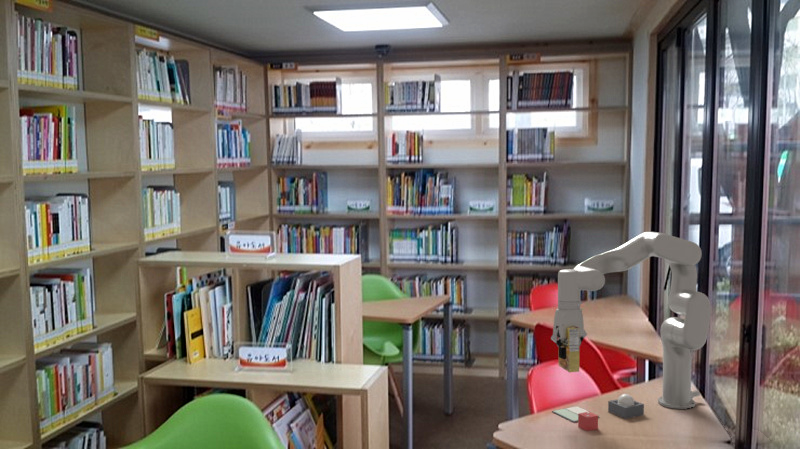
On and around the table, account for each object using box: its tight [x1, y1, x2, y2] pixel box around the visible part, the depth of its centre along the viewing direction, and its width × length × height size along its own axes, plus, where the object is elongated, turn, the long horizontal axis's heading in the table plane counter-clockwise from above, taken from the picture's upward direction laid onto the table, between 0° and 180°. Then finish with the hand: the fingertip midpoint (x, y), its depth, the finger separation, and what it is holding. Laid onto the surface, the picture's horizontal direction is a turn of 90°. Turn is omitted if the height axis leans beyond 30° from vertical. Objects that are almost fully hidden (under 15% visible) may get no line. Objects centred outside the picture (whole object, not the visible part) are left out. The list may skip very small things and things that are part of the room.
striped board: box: [551, 405, 600, 423], centre depth 247 cm, size 11×12×1 cm
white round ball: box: [617, 393, 635, 407], centre depth 247 cm, size 6×6×6 cm
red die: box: [577, 411, 599, 432], centre depth 234 cm, size 4×4×5 cm
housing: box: [607, 398, 645, 420], centre depth 247 cm, size 8×8×4 cm
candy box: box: [557, 327, 580, 373], centre depth 244 cm, size 9×4×15 cm, turn 12°
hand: (569, 356), depth 244 cm, fingers closed on candy box, 5 cm apart
